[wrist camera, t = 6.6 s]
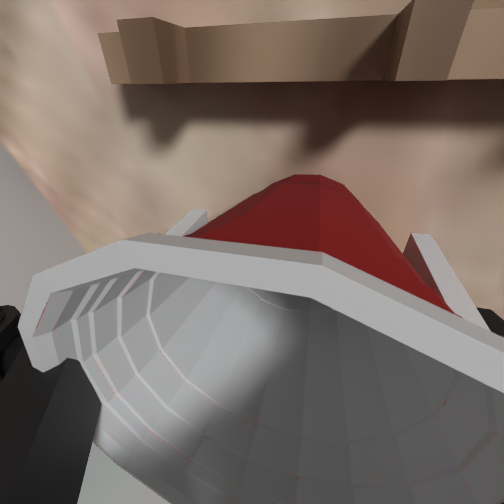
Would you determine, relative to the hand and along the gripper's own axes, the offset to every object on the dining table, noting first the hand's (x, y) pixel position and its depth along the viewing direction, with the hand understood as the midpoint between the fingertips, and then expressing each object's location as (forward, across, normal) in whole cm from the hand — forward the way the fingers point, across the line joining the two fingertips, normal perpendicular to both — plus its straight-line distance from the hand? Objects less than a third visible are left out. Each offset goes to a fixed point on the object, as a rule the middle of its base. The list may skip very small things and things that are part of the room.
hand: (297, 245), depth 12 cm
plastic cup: (+3, 0, 0) cm, 3 cm away
